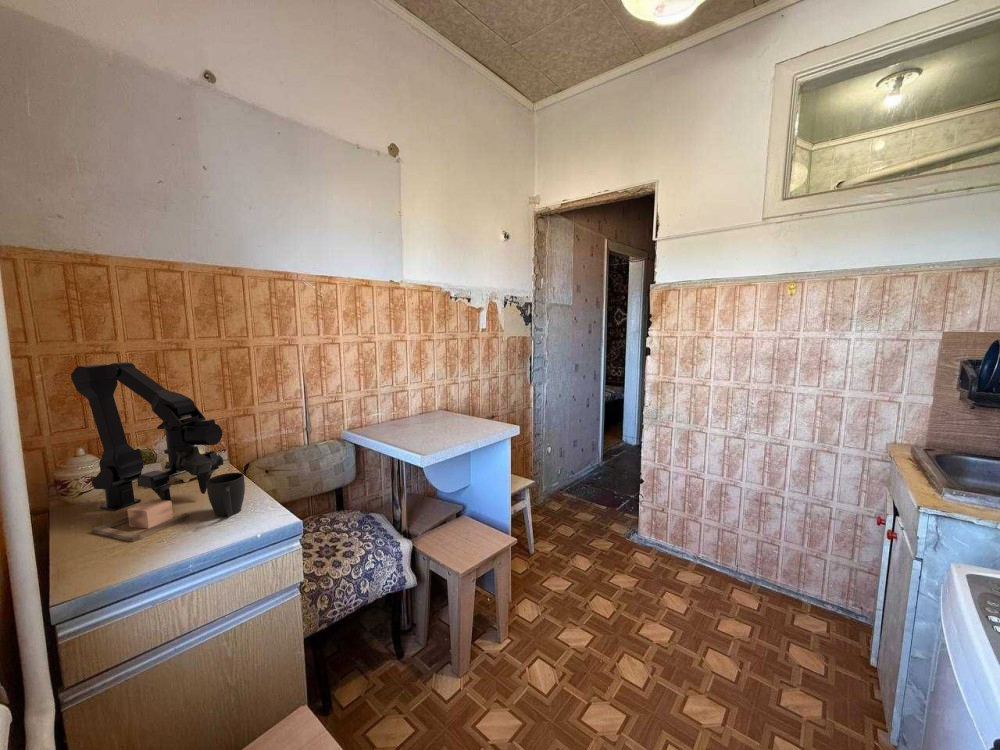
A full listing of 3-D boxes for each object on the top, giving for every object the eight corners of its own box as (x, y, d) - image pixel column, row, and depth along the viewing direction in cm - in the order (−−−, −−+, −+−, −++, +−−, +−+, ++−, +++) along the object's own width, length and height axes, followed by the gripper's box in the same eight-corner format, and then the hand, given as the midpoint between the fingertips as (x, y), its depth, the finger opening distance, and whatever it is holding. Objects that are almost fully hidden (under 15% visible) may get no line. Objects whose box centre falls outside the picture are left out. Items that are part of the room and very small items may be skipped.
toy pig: (161, 481, 131) (157, 449, 130) (206, 471, 139) (203, 441, 138) (165, 489, 124) (161, 455, 123) (212, 478, 132) (209, 447, 131)
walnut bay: (92, 532, 97) (91, 528, 97) (150, 510, 109) (150, 506, 109) (133, 541, 93) (132, 537, 92) (189, 517, 104) (189, 514, 104)
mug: (207, 529, 98) (203, 491, 97) (210, 510, 108) (207, 476, 107) (247, 519, 103) (244, 483, 101) (246, 503, 113) (243, 470, 112)
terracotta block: (129, 526, 100) (127, 509, 100) (154, 515, 106) (152, 499, 105) (148, 528, 99) (146, 511, 98) (173, 517, 105) (171, 500, 104)
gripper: (163, 457, 98) (170, 519, 99) (235, 437, 115) (240, 490, 117) (132, 454, 101) (140, 513, 103) (206, 434, 119) (212, 486, 120)
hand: (186, 499), depth 111 cm, fingers open, 9 cm apart
